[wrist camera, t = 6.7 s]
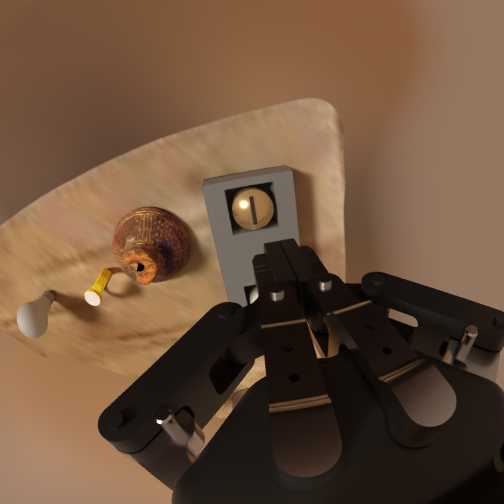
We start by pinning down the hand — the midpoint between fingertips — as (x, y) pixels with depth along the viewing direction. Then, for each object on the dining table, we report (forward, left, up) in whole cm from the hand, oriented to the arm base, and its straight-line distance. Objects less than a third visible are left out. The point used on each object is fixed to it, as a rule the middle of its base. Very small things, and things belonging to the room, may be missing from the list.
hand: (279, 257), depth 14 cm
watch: (+5, +27, -25) cm, 37 cm away
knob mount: (-9, +6, -24) cm, 27 cm away
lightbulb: (+12, +39, -25) cm, 48 cm away
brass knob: (-4, +2, -24) cm, 24 cm away
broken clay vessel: (+2, +17, -25) cm, 30 cm away
